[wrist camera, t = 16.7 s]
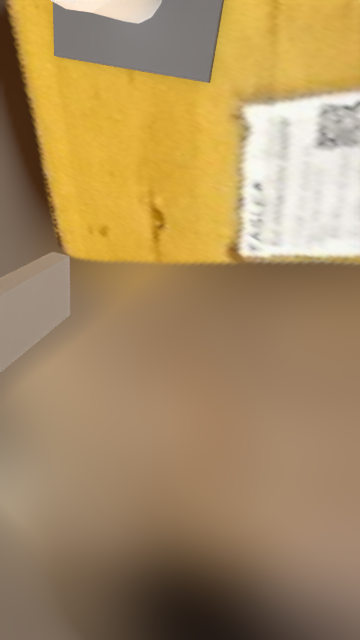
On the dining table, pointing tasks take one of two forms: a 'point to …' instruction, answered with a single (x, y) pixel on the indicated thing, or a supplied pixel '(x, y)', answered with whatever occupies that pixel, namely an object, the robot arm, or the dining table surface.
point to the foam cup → (115, 8)
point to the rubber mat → (144, 38)
